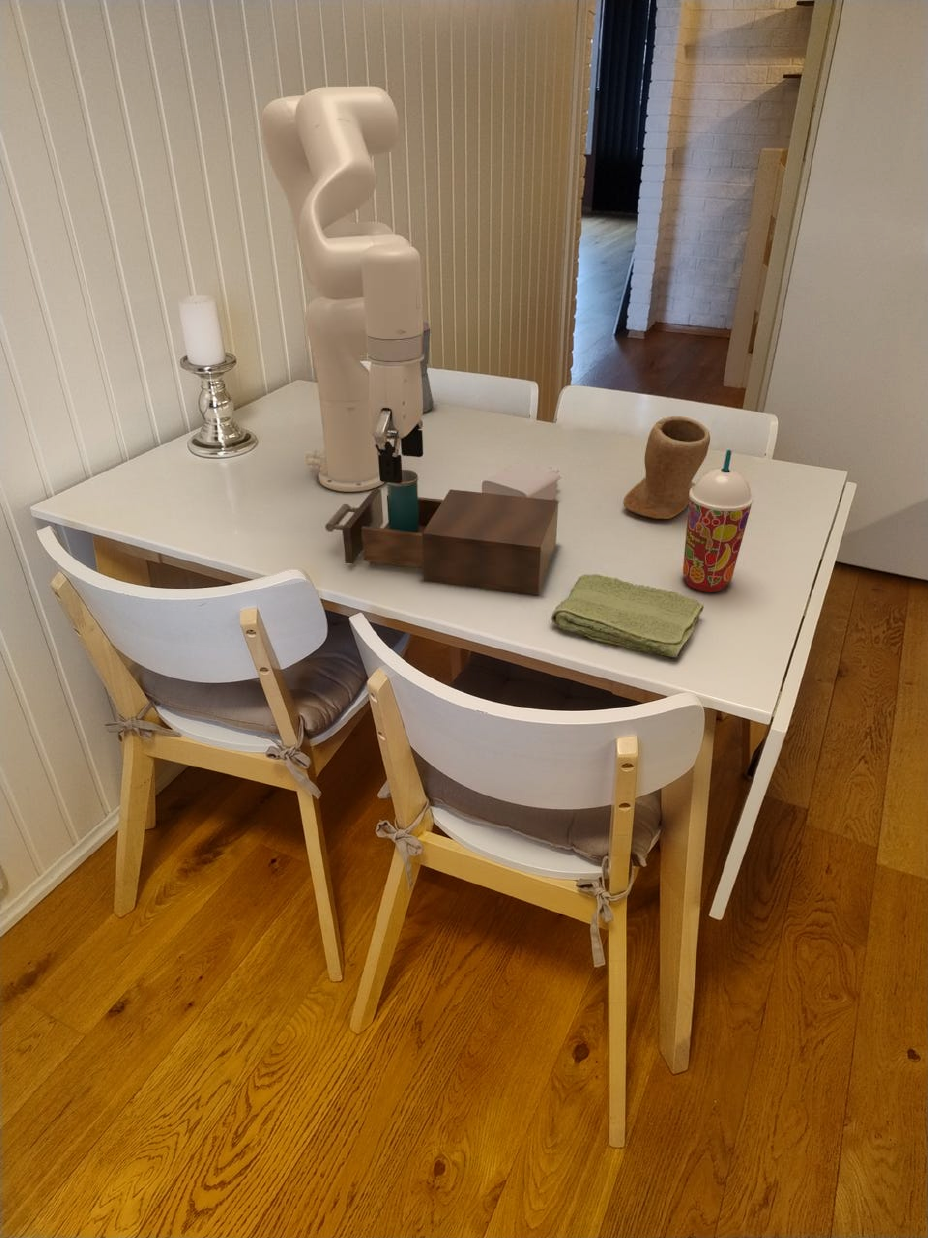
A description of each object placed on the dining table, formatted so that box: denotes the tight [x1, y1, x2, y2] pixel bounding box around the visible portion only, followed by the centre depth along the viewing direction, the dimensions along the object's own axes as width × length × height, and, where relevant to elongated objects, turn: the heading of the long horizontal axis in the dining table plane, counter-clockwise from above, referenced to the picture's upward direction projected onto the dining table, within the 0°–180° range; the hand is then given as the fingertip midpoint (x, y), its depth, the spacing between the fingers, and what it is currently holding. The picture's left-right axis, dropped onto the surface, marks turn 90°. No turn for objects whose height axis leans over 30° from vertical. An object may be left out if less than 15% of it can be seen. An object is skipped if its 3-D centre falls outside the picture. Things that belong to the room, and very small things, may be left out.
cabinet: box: [422, 489, 559, 596], centre depth 123 cm, size 17×15×8 cm
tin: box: [386, 469, 419, 533], centre depth 124 cm, size 5×5×10 cm
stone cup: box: [622, 415, 711, 520], centre depth 137 cm, size 15×12×15 cm
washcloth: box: [550, 573, 705, 658], centre depth 111 cm, size 13×18×3 cm
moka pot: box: [420, 321, 435, 414], centre depth 176 cm, size 10×15×20 cm, turn 171°
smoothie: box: [682, 449, 755, 593], centre depth 114 cm, size 8×8×20 cm
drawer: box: [324, 488, 444, 569], centre depth 126 cm, size 20×14×6 cm
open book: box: [481, 463, 562, 500], centre depth 143 cm, size 5×9×15 cm
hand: (402, 468), depth 120 cm, fingers open, 9 cm apart
